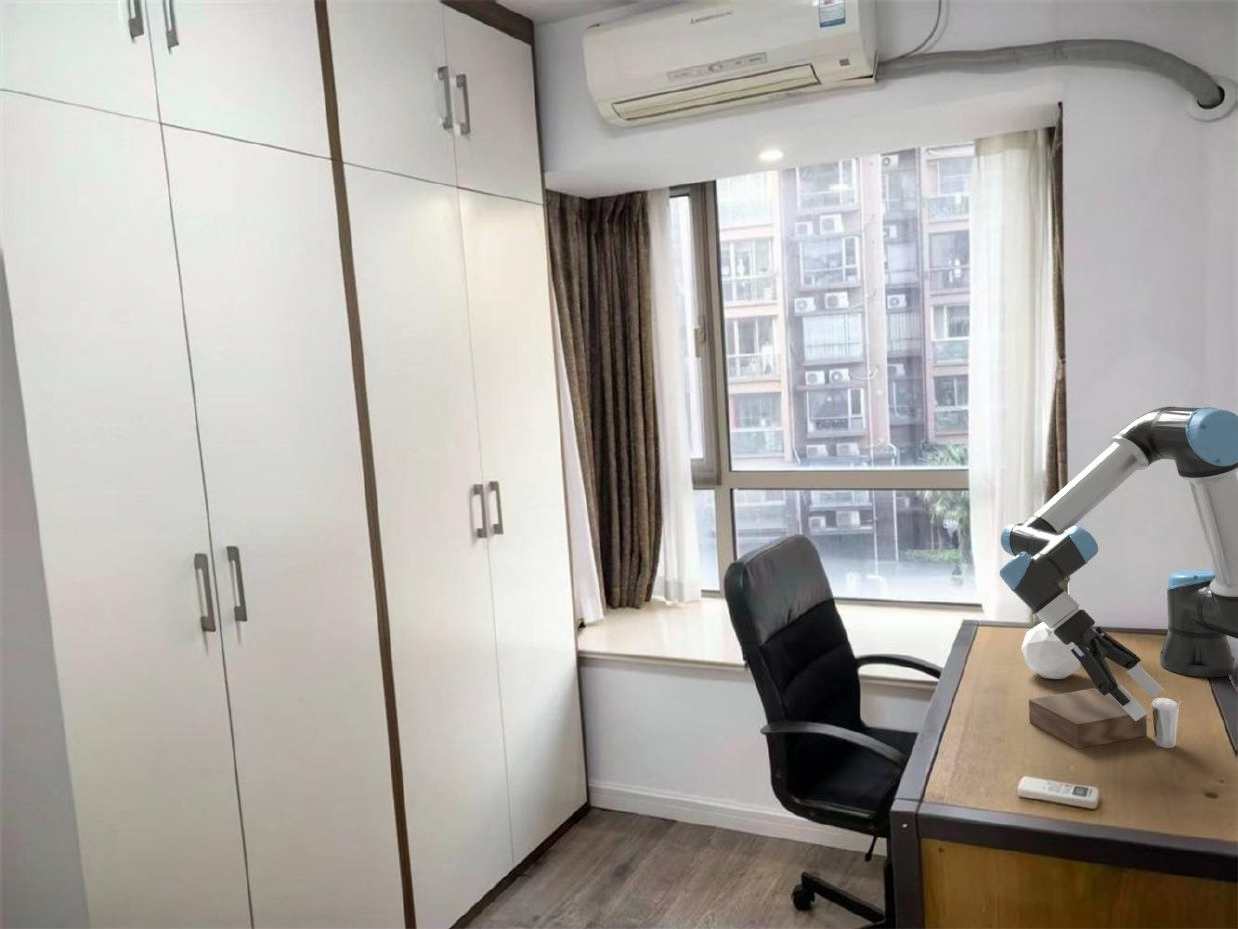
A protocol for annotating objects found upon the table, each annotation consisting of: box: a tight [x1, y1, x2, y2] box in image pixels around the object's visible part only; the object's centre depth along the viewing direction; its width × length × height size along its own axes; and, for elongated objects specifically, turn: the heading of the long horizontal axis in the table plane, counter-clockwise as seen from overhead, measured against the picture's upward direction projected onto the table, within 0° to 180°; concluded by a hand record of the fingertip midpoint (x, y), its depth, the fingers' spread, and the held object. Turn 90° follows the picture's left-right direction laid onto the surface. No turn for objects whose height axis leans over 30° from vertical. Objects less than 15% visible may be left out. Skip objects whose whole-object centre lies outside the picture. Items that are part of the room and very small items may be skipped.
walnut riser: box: [1028, 687, 1148, 750], centre depth 182 cm, size 16×14×5 cm
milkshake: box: [1150, 697, 1183, 749], centre depth 172 cm, size 4×5×10 cm
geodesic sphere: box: [1020, 622, 1084, 680], centre depth 211 cm, size 14×14×14 cm
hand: (1150, 705), depth 173 cm, fingers open, 13 cm apart
